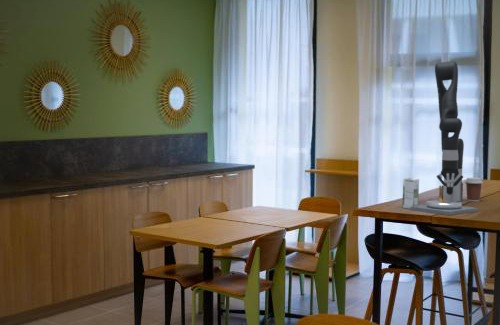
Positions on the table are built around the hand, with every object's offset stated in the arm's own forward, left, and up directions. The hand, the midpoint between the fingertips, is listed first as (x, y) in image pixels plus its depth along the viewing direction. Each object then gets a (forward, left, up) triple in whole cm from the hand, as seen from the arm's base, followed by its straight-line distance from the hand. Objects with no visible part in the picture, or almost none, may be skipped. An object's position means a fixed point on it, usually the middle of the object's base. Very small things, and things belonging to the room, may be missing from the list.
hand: (449, 194), depth 323 cm
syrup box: (+16, -10, -7) cm, 21 cm away
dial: (+9, +3, -5) cm, 11 cm away
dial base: (+10, +5, -7) cm, 13 cm away
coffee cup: (-36, -10, -7) cm, 38 cm away
